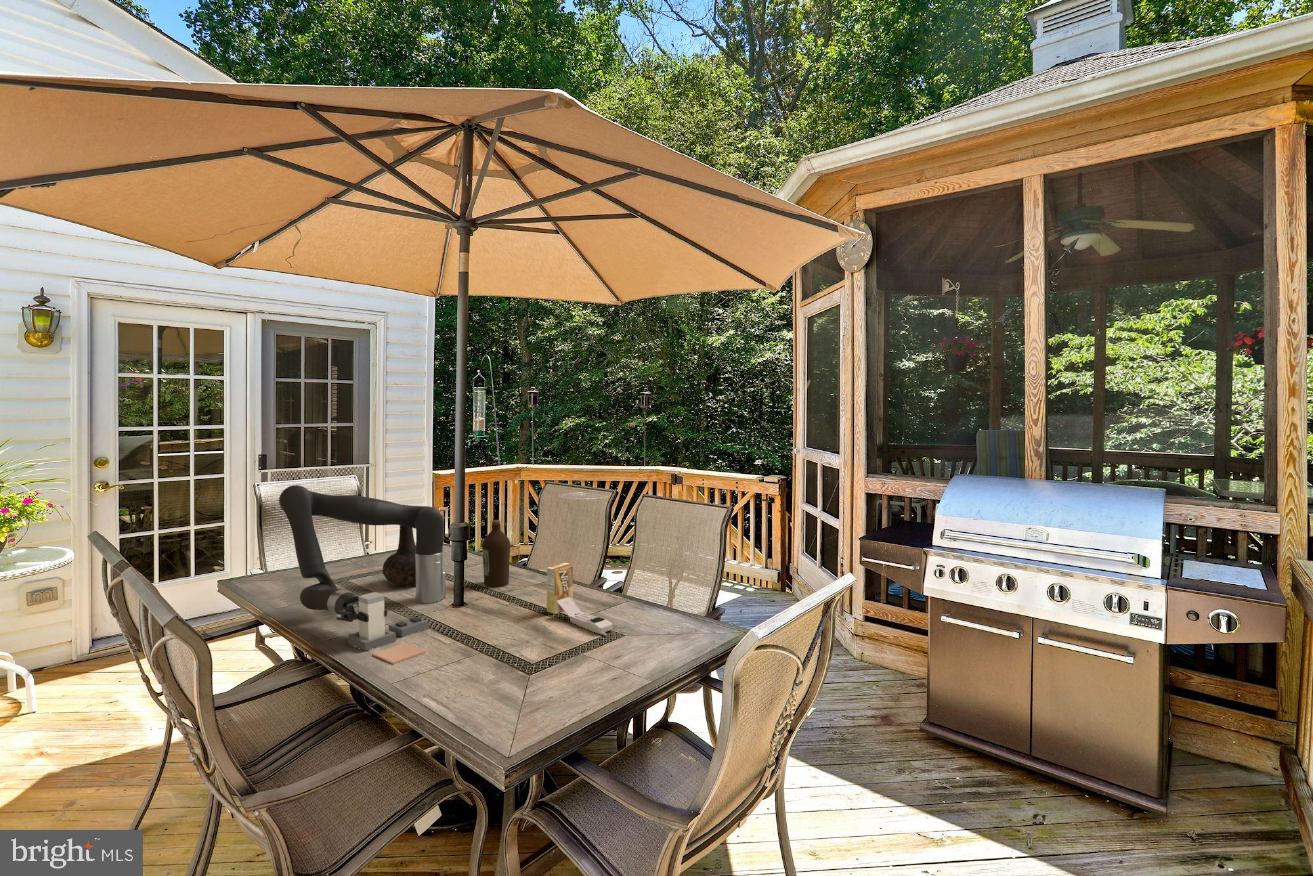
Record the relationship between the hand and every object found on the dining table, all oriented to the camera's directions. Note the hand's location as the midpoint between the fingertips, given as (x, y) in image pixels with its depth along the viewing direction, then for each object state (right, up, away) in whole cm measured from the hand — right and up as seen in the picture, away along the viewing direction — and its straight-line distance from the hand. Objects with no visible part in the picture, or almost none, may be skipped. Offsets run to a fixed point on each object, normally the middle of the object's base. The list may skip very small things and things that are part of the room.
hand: (376, 615), depth 181 cm
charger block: (-2, -8, +2) cm, 9 cm away
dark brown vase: (-15, -5, +61) cm, 63 cm away
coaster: (+9, -9, -6) cm, 14 cm away
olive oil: (+19, -5, +62) cm, 65 cm away
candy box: (+48, -7, +32) cm, 59 cm away
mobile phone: (+59, -8, +19) cm, 62 cm away
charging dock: (+1, -8, +7) cm, 11 cm away
